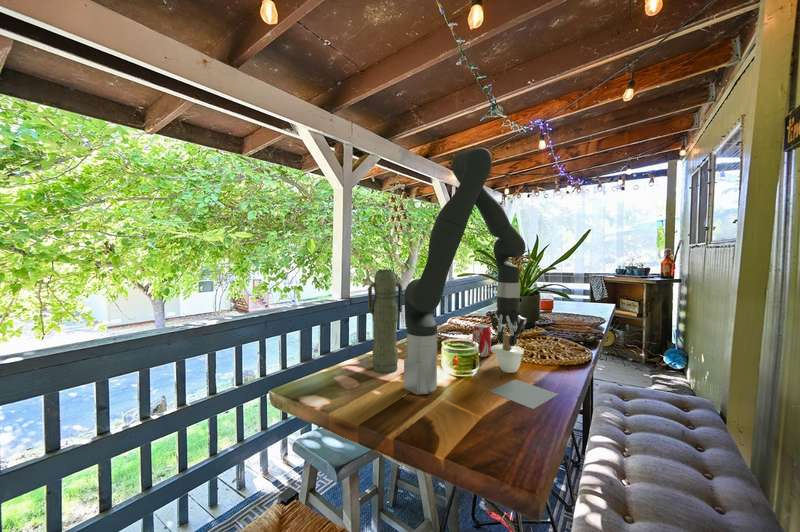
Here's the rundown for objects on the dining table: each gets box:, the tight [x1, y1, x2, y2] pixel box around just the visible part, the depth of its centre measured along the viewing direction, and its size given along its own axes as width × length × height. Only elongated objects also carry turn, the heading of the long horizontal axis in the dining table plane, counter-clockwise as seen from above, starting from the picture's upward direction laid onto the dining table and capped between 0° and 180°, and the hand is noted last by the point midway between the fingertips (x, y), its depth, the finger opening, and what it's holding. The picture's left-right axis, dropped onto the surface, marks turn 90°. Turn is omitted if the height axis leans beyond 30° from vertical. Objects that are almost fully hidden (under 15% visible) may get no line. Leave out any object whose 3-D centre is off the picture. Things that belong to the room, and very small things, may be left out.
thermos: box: [367, 269, 403, 374], centre depth 118 cm, size 9×12×35 cm
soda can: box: [472, 323, 492, 358], centre depth 134 cm, size 7×7×12 cm
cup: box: [495, 354, 522, 374], centre depth 117 cm, size 8×10×7 cm
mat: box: [488, 379, 559, 410], centre depth 98 cm, size 14×14×1 cm
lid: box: [490, 333, 525, 357], centre depth 117 cm, size 11×11×6 cm
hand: (507, 344), depth 117 cm, fingers open, 4 cm apart
